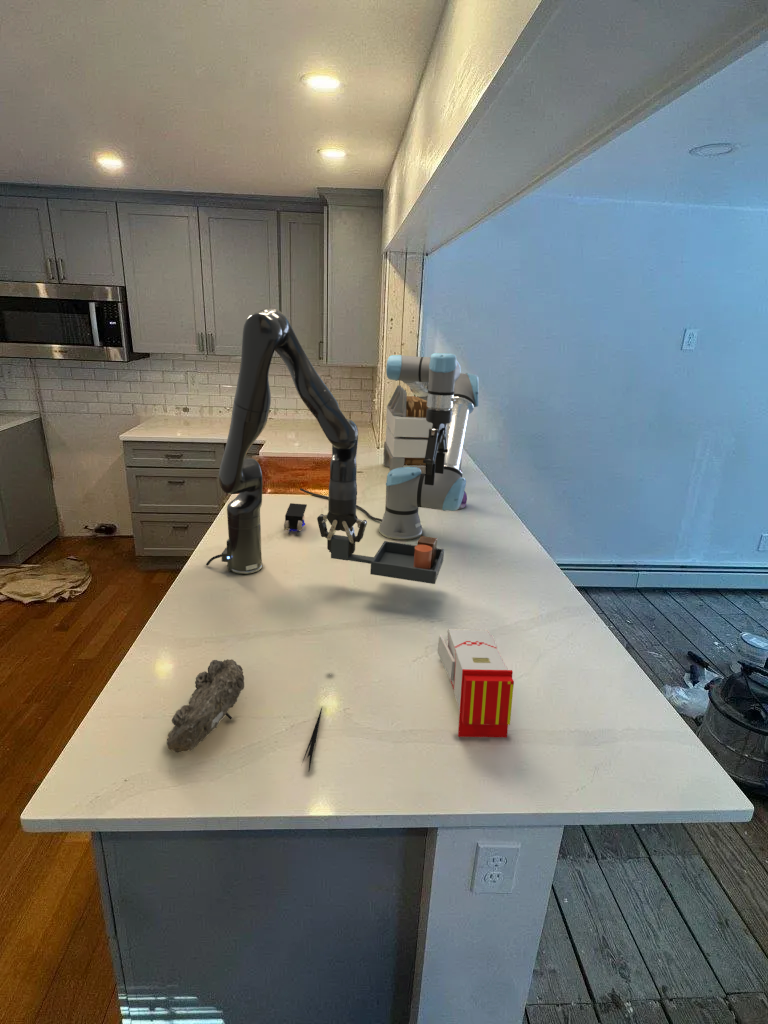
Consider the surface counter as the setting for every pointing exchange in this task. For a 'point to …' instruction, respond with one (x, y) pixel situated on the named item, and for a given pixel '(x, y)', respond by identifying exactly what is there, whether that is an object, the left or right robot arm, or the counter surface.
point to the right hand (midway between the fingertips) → (434, 478)
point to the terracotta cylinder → (422, 557)
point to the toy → (478, 682)
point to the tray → (390, 560)
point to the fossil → (206, 705)
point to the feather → (313, 740)
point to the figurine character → (295, 517)
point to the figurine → (463, 500)
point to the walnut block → (430, 542)
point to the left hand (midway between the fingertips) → (341, 552)
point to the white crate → (406, 431)
